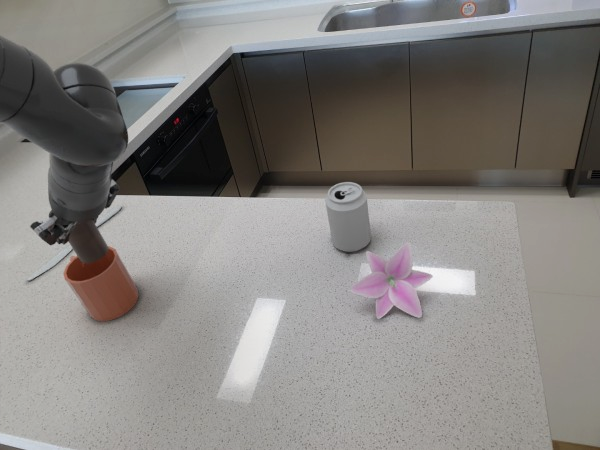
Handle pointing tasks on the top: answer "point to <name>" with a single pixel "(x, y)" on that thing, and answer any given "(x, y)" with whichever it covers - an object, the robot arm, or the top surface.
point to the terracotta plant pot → (102, 286)
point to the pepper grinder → (87, 242)
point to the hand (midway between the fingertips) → (75, 229)
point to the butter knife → (69, 247)
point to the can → (348, 216)
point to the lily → (392, 282)
